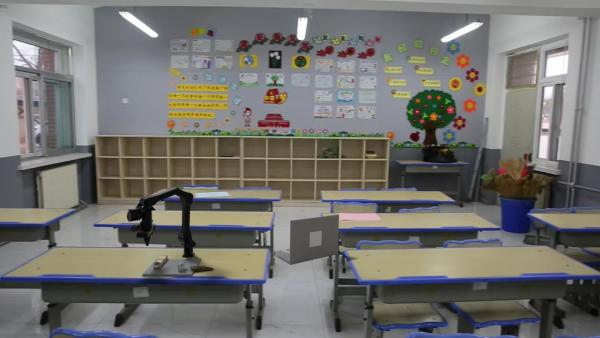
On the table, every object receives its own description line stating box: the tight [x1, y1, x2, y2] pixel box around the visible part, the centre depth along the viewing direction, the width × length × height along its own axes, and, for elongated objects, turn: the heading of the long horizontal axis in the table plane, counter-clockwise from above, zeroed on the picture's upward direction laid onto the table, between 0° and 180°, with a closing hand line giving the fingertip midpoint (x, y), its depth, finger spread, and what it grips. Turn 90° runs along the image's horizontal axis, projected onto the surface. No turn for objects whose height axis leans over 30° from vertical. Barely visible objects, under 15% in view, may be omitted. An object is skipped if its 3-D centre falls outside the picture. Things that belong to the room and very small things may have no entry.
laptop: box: [273, 214, 340, 266], centre depth 261 cm, size 35×26×27 cm
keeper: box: [178, 262, 186, 271], centre depth 230 cm, size 6×3×3 cm, turn 2°
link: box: [153, 254, 169, 269], centre depth 238 cm, size 18×4×3 cm, turn 2°
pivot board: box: [142, 258, 202, 277], centre depth 235 cm, size 25×26×1 cm
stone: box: [190, 265, 214, 272], centre depth 232 cm, size 13×5×2 cm, turn 102°
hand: (147, 245), depth 236 cm, fingers closed
